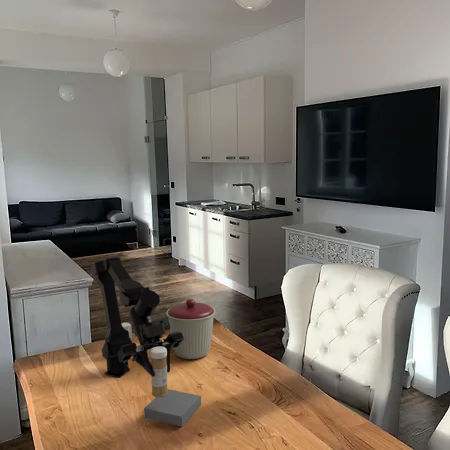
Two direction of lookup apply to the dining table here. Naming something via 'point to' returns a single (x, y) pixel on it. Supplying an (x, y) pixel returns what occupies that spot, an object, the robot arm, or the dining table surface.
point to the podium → (173, 408)
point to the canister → (192, 328)
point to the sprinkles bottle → (159, 371)
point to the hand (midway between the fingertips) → (161, 374)
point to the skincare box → (128, 327)
